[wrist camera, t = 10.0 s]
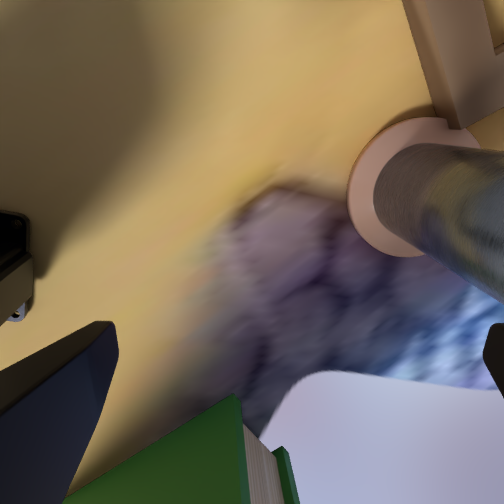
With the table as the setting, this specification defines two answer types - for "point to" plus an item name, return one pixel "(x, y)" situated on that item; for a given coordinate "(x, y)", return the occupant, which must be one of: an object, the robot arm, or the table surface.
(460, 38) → the pocket frame
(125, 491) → the hardback book
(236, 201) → the table surface
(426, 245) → the tea tin
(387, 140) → the coaster
